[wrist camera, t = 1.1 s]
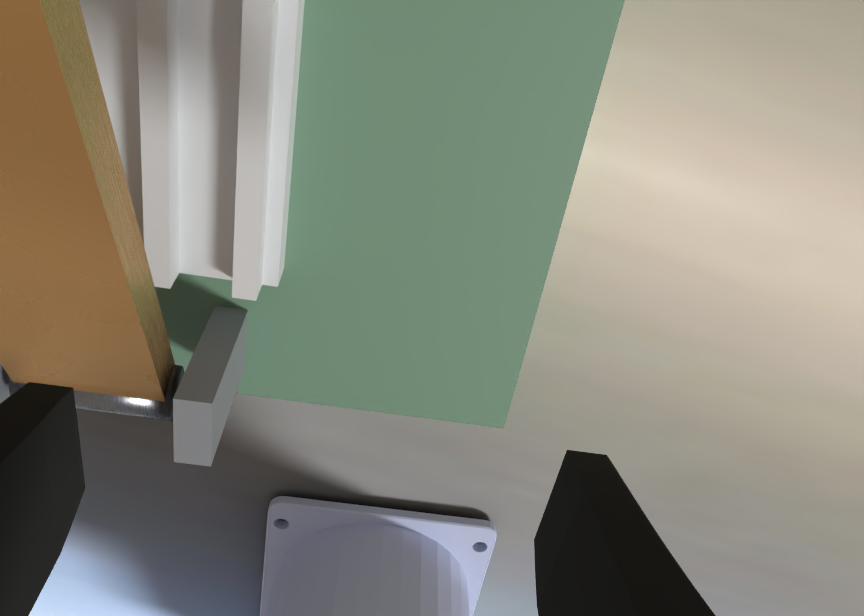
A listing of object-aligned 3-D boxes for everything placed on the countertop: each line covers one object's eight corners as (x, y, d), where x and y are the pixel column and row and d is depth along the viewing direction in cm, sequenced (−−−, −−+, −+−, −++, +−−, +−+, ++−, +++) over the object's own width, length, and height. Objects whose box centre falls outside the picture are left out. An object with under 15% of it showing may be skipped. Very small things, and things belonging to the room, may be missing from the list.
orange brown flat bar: (186, 381, 21) (173, 429, 20) (39, 361, 20) (19, 410, 20) (56, -146, 9) (14, -80, 8) (-285, -210, 9) (-362, -147, 8)
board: (500, 403, 25) (515, 531, 20) (-230, 306, 23) (-392, 423, 18) (692, -298, 15) (800, -348, 11) (-519, -563, 13) (-995, -756, 9)
